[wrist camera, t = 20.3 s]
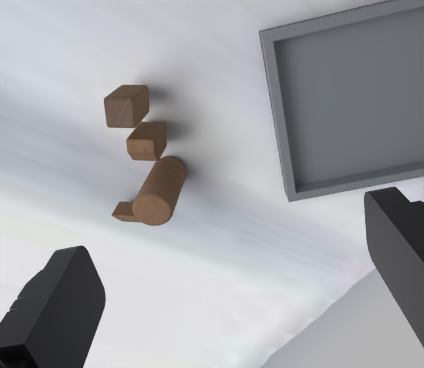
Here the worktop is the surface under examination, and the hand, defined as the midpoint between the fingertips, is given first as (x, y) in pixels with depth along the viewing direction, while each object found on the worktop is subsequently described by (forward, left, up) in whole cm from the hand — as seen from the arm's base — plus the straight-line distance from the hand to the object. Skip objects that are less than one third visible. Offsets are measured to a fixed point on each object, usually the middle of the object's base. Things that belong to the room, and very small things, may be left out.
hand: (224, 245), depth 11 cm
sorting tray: (+8, +15, -36) cm, 40 cm away
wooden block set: (+9, -10, -36) cm, 39 cm away
